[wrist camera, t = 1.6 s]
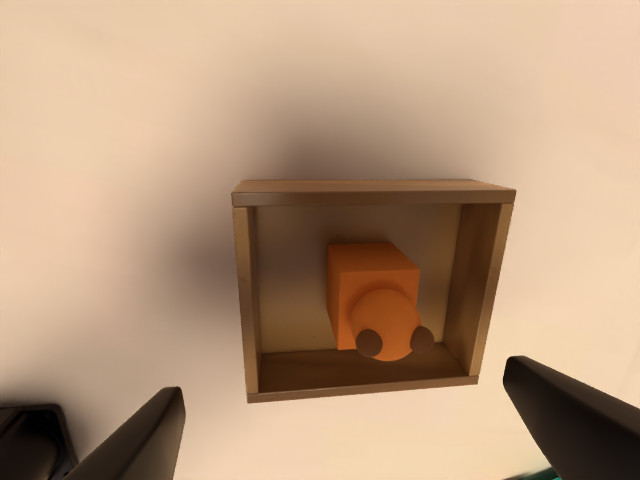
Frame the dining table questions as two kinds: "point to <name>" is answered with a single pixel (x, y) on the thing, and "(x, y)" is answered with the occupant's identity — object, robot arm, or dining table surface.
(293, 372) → the wooden box
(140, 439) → the robot arm
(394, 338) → the toy bear
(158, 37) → the dining table surface
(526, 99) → the dining table surface
